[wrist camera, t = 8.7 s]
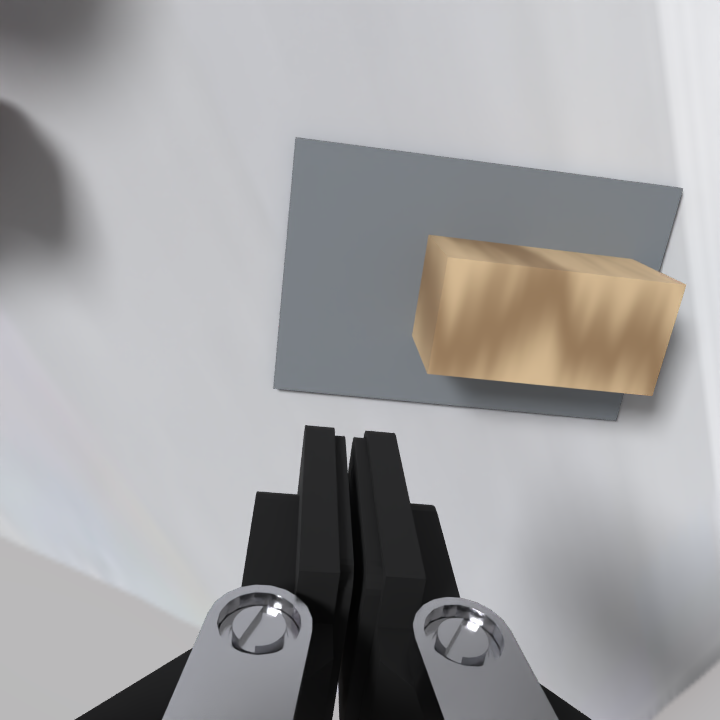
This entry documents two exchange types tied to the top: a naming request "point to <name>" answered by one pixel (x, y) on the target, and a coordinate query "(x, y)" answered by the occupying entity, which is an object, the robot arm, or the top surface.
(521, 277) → the oak block
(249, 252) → the top surface
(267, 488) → the top surface
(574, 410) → the mat
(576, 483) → the top surface
